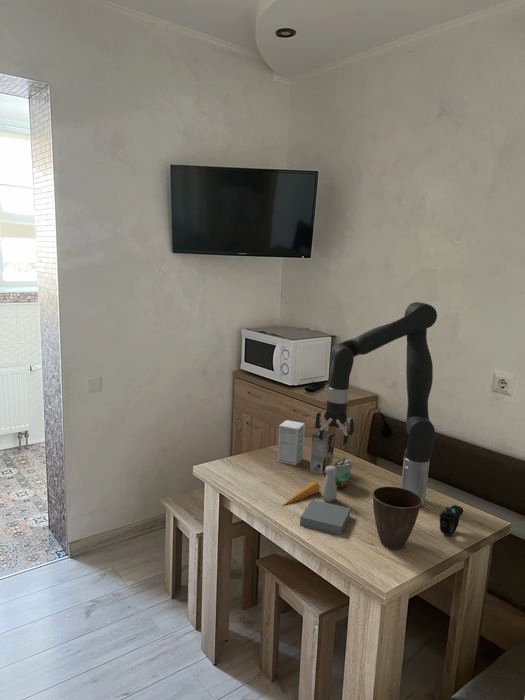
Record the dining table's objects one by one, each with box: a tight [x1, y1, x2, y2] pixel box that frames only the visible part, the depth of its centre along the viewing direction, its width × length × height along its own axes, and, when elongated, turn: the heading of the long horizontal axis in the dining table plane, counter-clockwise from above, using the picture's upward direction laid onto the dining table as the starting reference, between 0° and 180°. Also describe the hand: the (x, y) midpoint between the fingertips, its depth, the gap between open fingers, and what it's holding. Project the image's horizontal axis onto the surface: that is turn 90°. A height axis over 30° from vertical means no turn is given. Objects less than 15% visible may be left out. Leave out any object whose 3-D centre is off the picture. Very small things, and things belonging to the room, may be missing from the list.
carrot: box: [282, 481, 321, 507], centre depth 190 cm, size 20×4×4 cm, turn 135°
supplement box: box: [276, 419, 306, 466], centre depth 225 cm, size 10×9×17 cm
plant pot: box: [372, 486, 421, 550], centre depth 162 cm, size 15×15×16 cm
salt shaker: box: [320, 466, 338, 503], centre depth 190 cm, size 6×6×13 cm
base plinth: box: [299, 499, 351, 536], centre depth 175 cm, size 14×14×3 cm
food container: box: [330, 456, 353, 490], centre depth 202 cm, size 12×6×10 cm, turn 143°
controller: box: [439, 504, 464, 536], centre depth 171 cm, size 4×12×10 cm, turn 137°
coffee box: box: [309, 429, 336, 475], centre depth 217 cm, size 9×6×16 cm
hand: (333, 442), depth 187 cm, fingers open, 8 cm apart
